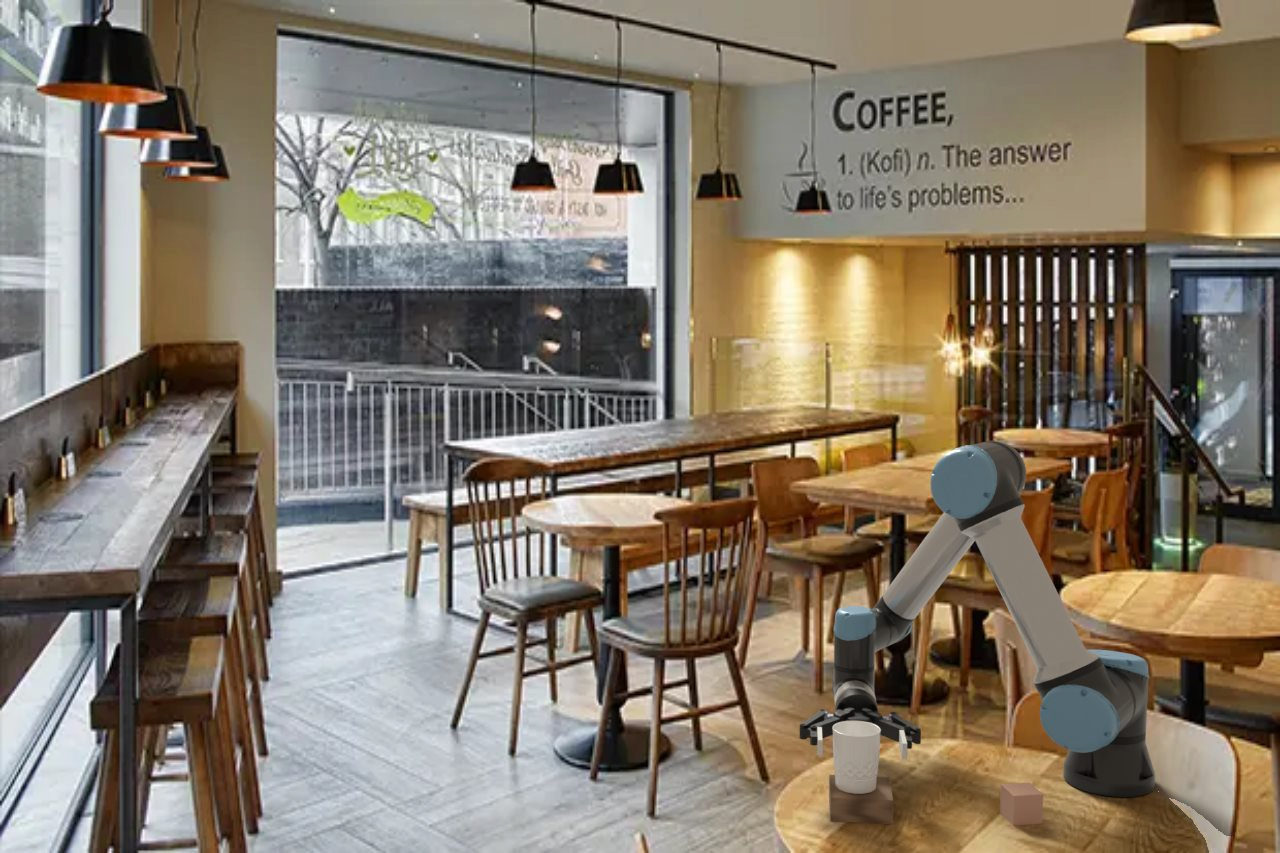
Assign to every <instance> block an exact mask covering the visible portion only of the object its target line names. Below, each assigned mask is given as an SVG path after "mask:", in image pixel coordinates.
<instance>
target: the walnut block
mask: <svg viewBox="0 0 1280 853" xmlns="http://www.w3.org/2000/svg"><path fill="white" fill-rule="evenodd" d="M828 780H829V781H828V782H829V783H828V784H829V785H828V802H829V818H830V822H841V823H843V822H844V823H861V824H864V823H865V824H882V825H893V824H894V797H893V792H892V786H891V781H890V777H888V776H877V779H876V789H875V790H874V791H872V792H870V793H865V794H853V793H846V792H844V791H841V790H839V789H838V788H837V787H836V786H835V774H829V776H828Z"/></svg>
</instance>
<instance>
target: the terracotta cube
mask: <svg viewBox="0 0 1280 853" xmlns="http://www.w3.org/2000/svg"><path fill="white" fill-rule="evenodd" d="M999 793H1000V794H999V795H1000V796H999V797H1000V799H999V800H1000V802H999V814H1000V815H1002V817H1004V819H1006V820H1007V821H1008V822H1009V823H1010V824H1011V825H1012V826H1021V825H1023V826H1024V825H1037V824H1039V825H1040V824H1042V825H1043V813H1044V812H1043V805H1044V793H1042V792H1041V791H1040V790H1039V789H1037V788H1036V786H1034V785H1033V784H1032V783H1031V782H1017V783H1016V782H1015V783H1001V784H1000V792H999Z"/></svg>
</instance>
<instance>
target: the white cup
mask: <svg viewBox="0 0 1280 853" xmlns="http://www.w3.org/2000/svg"><path fill="white" fill-rule="evenodd" d="M832 729H833V735H832V753H833V754H832V755H833V756H832V757H833V769H834V775H835V786H836V787H837V788H838V789H839V790H841V791H844V792H846V793H853V794H865V793H870V792H872V791H874V790H875V789H876V779H877V777H878V773H879V763H880V762H879V759H880V748H881V747H880V746H881V736H882V735H881V729H880V727H878V726H877V725H875V724H872V723H869V722H864V721H843V722H839V723H836V724H834V725H833V727H832Z"/></svg>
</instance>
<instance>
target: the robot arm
mask: <svg viewBox="0 0 1280 853" xmlns="http://www.w3.org/2000/svg"><path fill="white" fill-rule="evenodd" d="M1026 480H1027V469H1026V463H1025V461H1024V459H1023V457H1022V456H1021V454H1020V453H1019V452H1018V450H1016V449H1015V448H1014V447H1012V446H1011V445H1010V444H1007V443H1005V442H1002V441H998V440H987V441H985V440H984V441H981V442H979V443H975V444H974V443H973V444H969V445H961V446H959V447H957V448H954V449H953V450H951V451H949V452H947V453H945V454H943V455H942V457H941V458H939V459H938V461H937V462H936V463H935V465H934V467H933V468H932V473H931V476H930V481H929V482H930V493H931V495H932V498H933V501H934V503H935V504H936V506H938V508H939V509H940V510H941V511H942V512H943V513H942V515H941V516H940V517H939V519H937V521H936V523H935V524H934V525H933V526H932V528H931V529H930V530H929V532H928V533H927V535H926V536H925V537H924V538H923V540H922V541H921V543H920V544H919V546H918V547H917V548H916V549H915V551H914V552H913V553H912V555H911V557H909V558H908V560H907V562H906V563H905V564H904V565H903V567H902V568H901V569H900V571H899V572H898V574H897V575H896V577H895V578H894V579H893V580H892V582H891V583H890V585H889V586H888V587H887V588H886V590H885V591H884V592H883V595H882V596H881V597H880V598H879V599H878V601H877V602H876V603H875V605H874V606H873V607H872V608H870V607H867V606H866V607H865V606H862V605H861V606H860V605H848V606H842V607H840V608H838V609H837V610H836V611H835V616H834V625H833V680H832V688H831V689H832V694H833V696H834V698H833V700H834V709H835V710H834V712H833V713H828V712H827V711H826V709H824V708H819V709H818V710H817V713H815V714H814V715H812V716H810V717H809V718H806V719H805V720H804V721H803V722H800V723H799V739H800V740H806V739H808V738H809V739H810V740H809V744H810V746H817V747H816V748H817V757H823V748H824V747H823V745H824V744H823V739H825V738H828V737H830V736H831V737H832V736H833V729H832V727H833V725H834V724H836V723H839V722H843V721H864V722H869V723H872V724H875V725H877V726H878V727H880V729H881V735H880V736H882V737H884V738H887V739H890V740H892V741H895V742H897V743H898V747H899V752H900V757H901V760H902V761H903V760H904V761H908V750H911V749H912V748H913V744H914V745H920V744H922V728H920V727H919V726H918V725H916V724H913V723H912V722H910V721H908V720H907V719H905V718H903V717H901V716H899V714H898V712H896V711H890V713H889V714H888V715H886V716H885V715H884V716H883V714H881V713H880V712H879V708H878V704H877V698H876V693H875V668H876V667H875V665H876V663H875V661H876V653H877V652H878V651H880V650H883V649H885V648H887V647H889V646H891V645H893V644H896V643H899V642H901V641H902V640H903V639H905V637H908V635H909V634H910V633H911V632H912V629H913V625H914V620H915V619H916V618H917V616H918V615H920V612H921V611H922V610H923V609H924V607H925V606H926V605H927V604H928V602H929V601H930V599H931V598H932V597H933V596H934V595H935V593H936V592H937V591H938V589H939V588H940V587H941V586H942V584H943V583H944V581H945V580H946V579H947V577H948V576H949V575H950V574H951V572H953V570H954V568H955V567H956V565H957V564H958V563H959V562H960V561H961V560H962V558H963V557H964V555H965V554H966V553H967V552H968V550H969V549H970V548H971V546H972V545H973V544H974V542H975V543H976V545H977V548H978V549H979V552H980V553H981V556H982V557H983V560H984V562H985V564H986V566H987V568H988V570H989V572H990V574H991V576H992V578H993V581H994V582H995V584H996V585H995V586H996V587H997V589H998V591H999V593H1000V595H1001V597H1002V599H1003V601H1004V603H1005V606H1006V607H1007V610H1008V611H1009V615H1010V616H1011V617H1012V620H1013V622H1014V624H1015V626H1016V629H1017V630H1018V632H1019V634H1020V637H1021V639H1022V641H1023V642H1024V645H1025V647H1026V648H1027V651H1028V653H1029V655H1030V658H1031V660H1032V662H1033V663H1034V665H1035V666H1034V667H1035V668H1036V673H1035V676H1034V678H1033V679H1032V680H1033V681H1032V682H1033V684H1034V687H1035V688H1036V691H1037V693H1038V695H1039V697H1040V698H1041V704H1040V708H1039V720H1040V723H1041V725H1042V728H1043V730H1044V731H1045V733H1046V735H1047V736H1048V737H1049V738H1050V739H1051V740H1052V741H1053V742H1054V743H1055V744H1056V745H1058V746H1060V747H1062V748H1063V749H1065V750H1067V751H1068V752H1067V754H1066V756H1065V760H1064V761H1063V769H1062V770H1063V771H1062V772H1063V774H1062V775H1063V779H1064V780H1065V781H1066V783H1068V784H1070V785H1071V786H1073V787H1074V788H1076V789H1079V790H1081V791H1084V792H1087V793H1091V794H1095V795H1098V796H1099V795H1100V796H1107V797H1112V798H1113V797H1115V798H1116V797H1117V798H1131V797H1132V798H1133V797H1139V796H1144V795H1147V794H1150V793H1151V792H1153V791H1154V790H1155V787H1156V786H1155V785H1156V773H1155V769H1154V767H1153V763H1152V759H1151V756H1150V753H1149V749H1148V746H1147V741H1146V739H1147V737H1146V736H1147V735H1146V734H1147V717H1148V716H1147V715H1148V714H1147V712H1148V694H1149V693H1148V692H1149V690H1148V688H1149V679H1150V675H1149V665H1148V662H1147V661H1146V659H1145V658H1143V657H1140V656H1138V655H1135V654H1133V653H1132V654H1131V653H1126V652H1122V651H1121V652H1120V651H1115V650H1106V649H1105V650H1104V649H1087V647H1085V646H1084V643H1083V642H1082V639H1081V638H1080V635H1079V634H1078V632H1077V630H1076V629H1077V628H1076V627H1075V625H1074V624H1073V621H1072V619H1071V617H1070V615H1069V612H1068V611H1067V609H1066V607H1065V605H1064V603H1063V601H1062V599H1061V597H1060V595H1059V593H1058V591H1057V589H1056V587H1055V585H1054V583H1053V580H1052V578H1051V577H1050V574H1049V572H1048V570H1047V568H1046V567H1045V564H1044V561H1043V560H1042V558H1041V556H1040V555H1039V552H1038V550H1037V547H1036V546H1035V544H1034V542H1033V540H1032V537H1031V535H1030V533H1029V532H1028V529H1027V528H1026V526H1025V523H1024V522H1023V519H1022V514H1023V512H1024V509H1025V507H1026V505H1025V503H1024V500H1023V499H1022V496H1021V495H1020V494H1021V493H1022V491H1023V489H1024V487H1025V484H1026Z"/></svg>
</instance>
